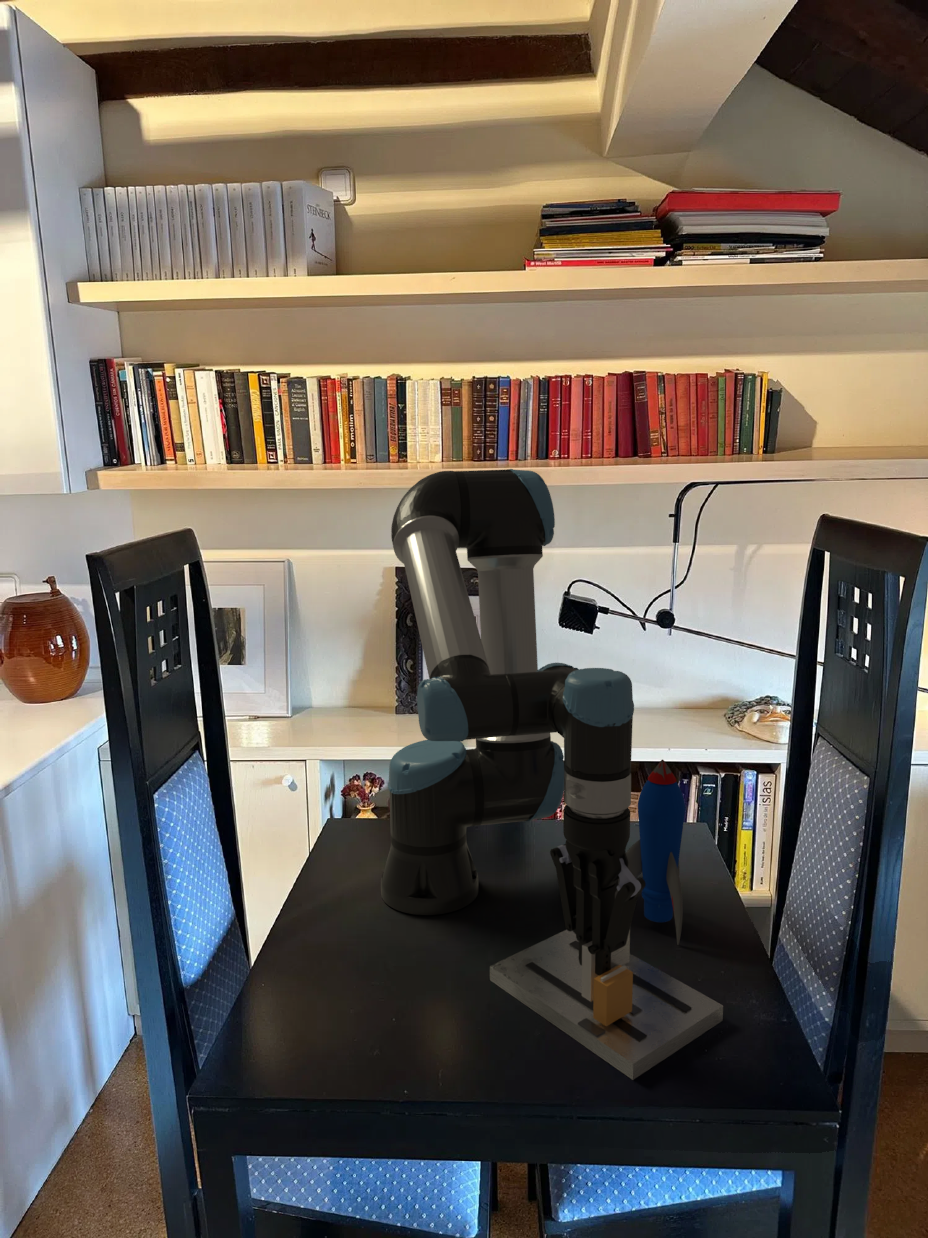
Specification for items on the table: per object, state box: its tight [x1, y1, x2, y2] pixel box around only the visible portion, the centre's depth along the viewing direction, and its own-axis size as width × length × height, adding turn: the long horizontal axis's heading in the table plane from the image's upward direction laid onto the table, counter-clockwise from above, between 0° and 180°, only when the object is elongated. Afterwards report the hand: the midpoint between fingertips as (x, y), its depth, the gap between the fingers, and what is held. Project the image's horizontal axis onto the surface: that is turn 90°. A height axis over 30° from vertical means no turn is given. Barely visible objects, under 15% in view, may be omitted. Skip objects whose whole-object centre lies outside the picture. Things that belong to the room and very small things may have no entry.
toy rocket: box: [615, 759, 686, 946], centre depth 125 cm, size 11×10×25 cm
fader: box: [593, 965, 633, 1026], centre depth 102 cm, size 2×4×5 cm, turn 128°
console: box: [489, 929, 724, 1081], centre depth 109 cm, size 24×16×8 cm, turn 38°
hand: (594, 994), depth 105 cm, fingers closed
